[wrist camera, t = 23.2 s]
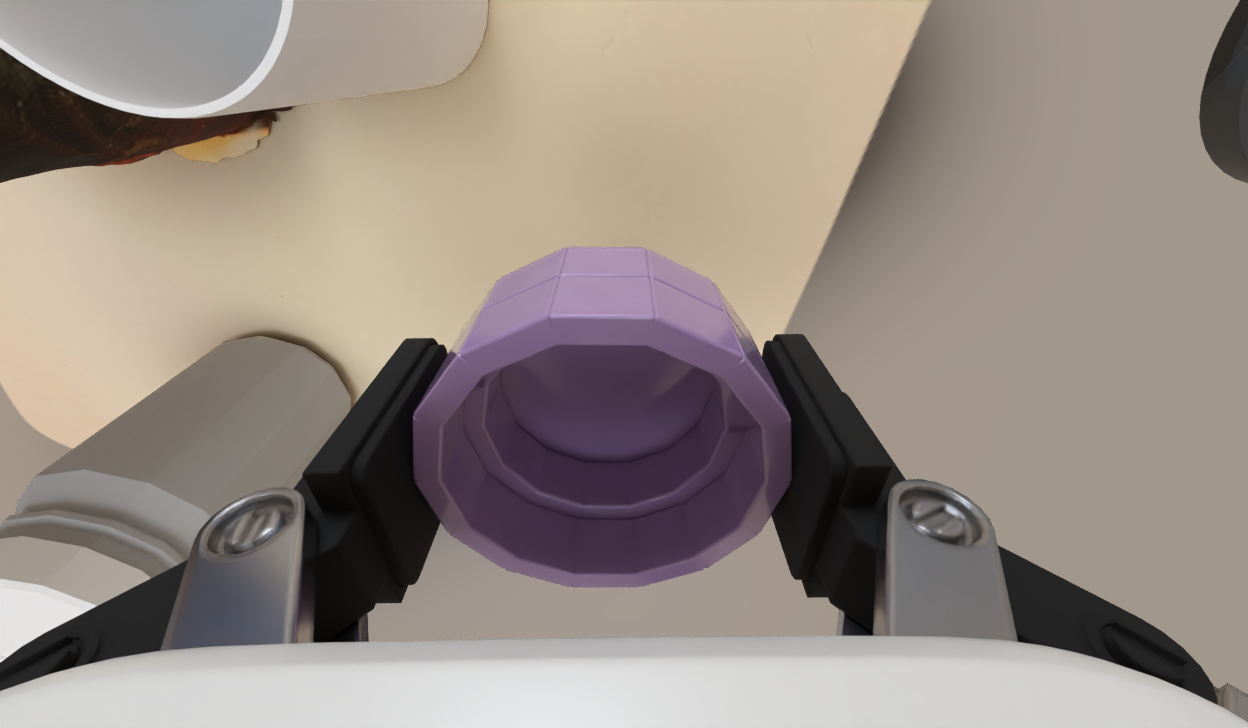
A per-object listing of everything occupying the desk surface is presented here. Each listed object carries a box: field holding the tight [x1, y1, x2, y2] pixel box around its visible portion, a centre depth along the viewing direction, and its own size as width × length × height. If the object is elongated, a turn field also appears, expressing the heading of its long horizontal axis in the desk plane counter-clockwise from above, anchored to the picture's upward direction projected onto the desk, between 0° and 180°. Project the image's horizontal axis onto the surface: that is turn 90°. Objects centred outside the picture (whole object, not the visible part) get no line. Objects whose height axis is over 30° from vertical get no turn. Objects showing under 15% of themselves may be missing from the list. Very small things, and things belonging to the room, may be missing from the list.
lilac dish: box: [413, 247, 792, 587], centre depth 10 cm, size 7×7×3 cm
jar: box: [0, 336, 351, 663], centre depth 27 cm, size 10×10×18 cm
